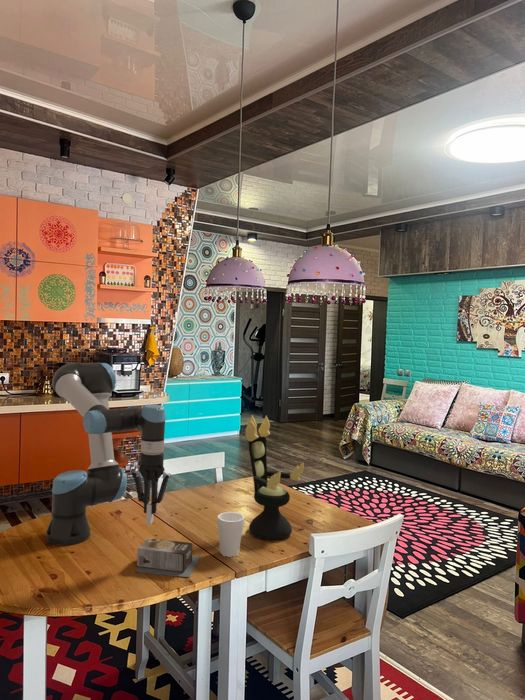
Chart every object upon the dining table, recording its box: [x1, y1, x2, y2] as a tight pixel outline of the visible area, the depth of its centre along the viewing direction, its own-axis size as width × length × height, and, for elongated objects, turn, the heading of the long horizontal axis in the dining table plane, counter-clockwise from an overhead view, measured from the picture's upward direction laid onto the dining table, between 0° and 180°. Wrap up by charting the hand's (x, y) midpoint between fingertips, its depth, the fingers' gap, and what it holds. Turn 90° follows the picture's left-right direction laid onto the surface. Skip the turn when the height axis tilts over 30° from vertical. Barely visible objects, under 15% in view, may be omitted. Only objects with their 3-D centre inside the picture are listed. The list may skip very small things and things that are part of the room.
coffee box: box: [136, 537, 194, 572], centre depth 171 cm, size 9×6×16 cm
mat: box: [135, 555, 201, 578], centre depth 172 cm, size 18×15×1 cm
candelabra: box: [244, 414, 305, 541], centre depth 202 cm, size 19×22×45 cm
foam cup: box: [216, 511, 246, 558], centre depth 182 cm, size 10×9×13 cm
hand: (149, 522), depth 172 cm, fingers closed
